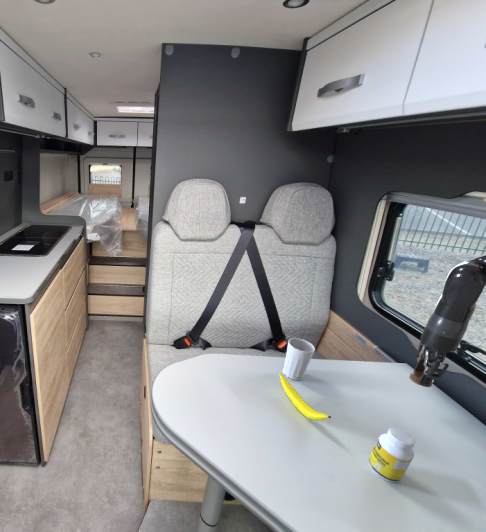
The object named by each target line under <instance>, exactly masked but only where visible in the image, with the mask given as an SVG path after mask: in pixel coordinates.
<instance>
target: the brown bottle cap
mask: <svg viewBox="0 0 486 532" xmlns="http://www.w3.org/2000/svg"><path fill="white" fill-rule="evenodd" d="M422 375H423V372H420V371H414V370H412V371H411V372H410V374H409V376H408V377H409V379H410V381H411V382H413V383H415V384H416V385H419V386H421V387H425V388H427V387H426V386H422V385H420V383H419V381H420V379H421V377H422ZM434 382H435V381H434V379H433V381H432V383H431V385H430V386H429V387H428V388H430V387H432V385H433V383H434Z"/></svg>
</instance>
